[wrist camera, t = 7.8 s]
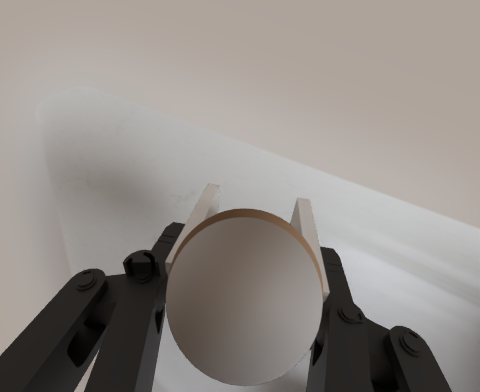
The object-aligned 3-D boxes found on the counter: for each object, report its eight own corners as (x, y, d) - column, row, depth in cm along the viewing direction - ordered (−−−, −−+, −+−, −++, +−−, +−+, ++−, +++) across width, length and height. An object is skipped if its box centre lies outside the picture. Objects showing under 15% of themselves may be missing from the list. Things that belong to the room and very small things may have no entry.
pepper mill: (290, 251, 18) (374, 257, 6) (259, 311, 17) (286, 460, 5) (234, 219, 18) (210, 168, 7) (202, 276, 17) (107, 334, 6)
